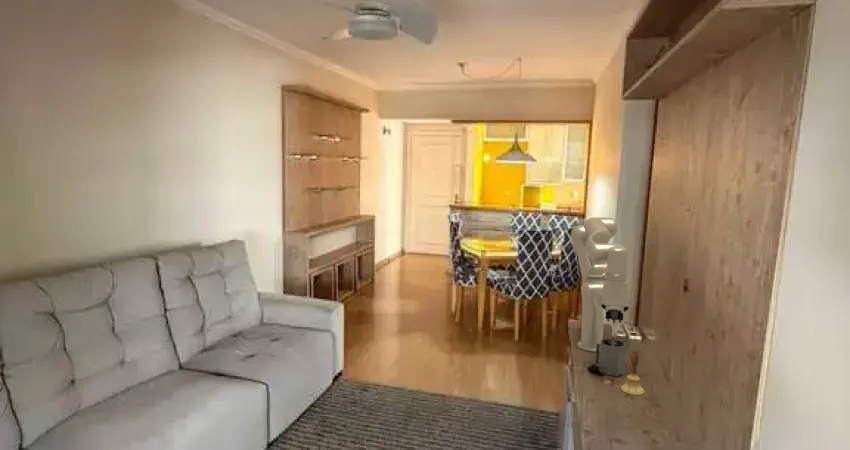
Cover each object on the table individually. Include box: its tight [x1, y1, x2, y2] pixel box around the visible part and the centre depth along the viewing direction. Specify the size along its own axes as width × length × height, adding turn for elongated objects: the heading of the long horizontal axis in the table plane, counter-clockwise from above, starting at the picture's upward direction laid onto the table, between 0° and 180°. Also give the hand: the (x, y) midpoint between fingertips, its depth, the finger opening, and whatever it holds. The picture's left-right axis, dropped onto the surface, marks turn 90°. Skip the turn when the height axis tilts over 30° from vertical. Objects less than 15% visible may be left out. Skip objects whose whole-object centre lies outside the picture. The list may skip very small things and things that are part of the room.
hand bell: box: [620, 349, 645, 396], centre depth 188 cm, size 8×8×16 cm
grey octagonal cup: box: [595, 338, 627, 378], centre depth 205 cm, size 10×11×12 cm
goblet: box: [607, 308, 621, 347], centre depth 203 cm, size 7×7×16 cm
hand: (614, 320), depth 203 cm, fingers closed on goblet, 4 cm apart
